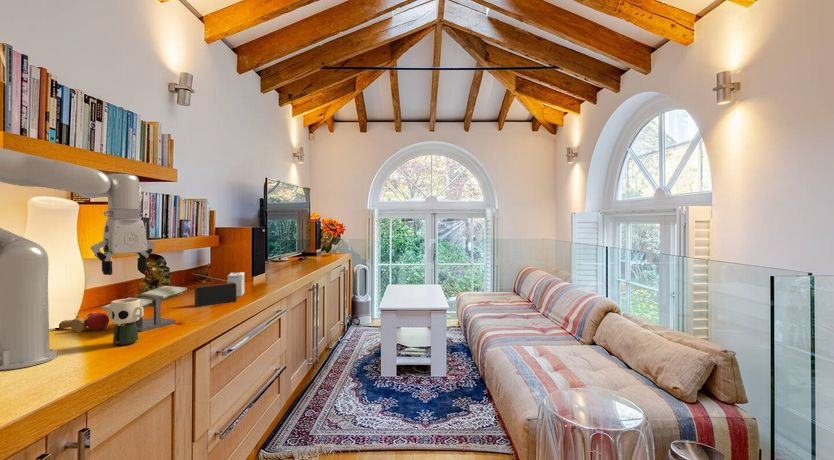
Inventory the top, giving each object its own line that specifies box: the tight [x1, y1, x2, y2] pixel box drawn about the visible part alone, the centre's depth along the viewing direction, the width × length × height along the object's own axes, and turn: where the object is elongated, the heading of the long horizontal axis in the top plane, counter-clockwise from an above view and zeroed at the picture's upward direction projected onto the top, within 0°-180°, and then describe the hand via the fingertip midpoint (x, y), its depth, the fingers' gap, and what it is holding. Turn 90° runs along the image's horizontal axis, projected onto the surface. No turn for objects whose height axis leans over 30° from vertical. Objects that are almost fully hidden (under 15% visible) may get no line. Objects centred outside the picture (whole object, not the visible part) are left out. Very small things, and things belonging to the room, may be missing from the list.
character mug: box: [106, 297, 144, 345], centre depth 117 cm, size 11×7×13 cm, turn 88°
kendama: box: [59, 311, 110, 333], centre depth 133 cm, size 8×6×18 cm
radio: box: [190, 272, 237, 308], centre depth 174 cm, size 19×3×15 cm, turn 136°
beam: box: [100, 285, 188, 311], centre depth 137 cm, size 22×12×3 cm, turn 158°
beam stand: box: [134, 294, 177, 333], centre depth 138 cm, size 12×12×10 cm
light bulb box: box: [227, 271, 245, 297], centre depth 196 cm, size 11×7×11 cm, turn 17°
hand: (125, 272), depth 117 cm, fingers open, 9 cm apart
